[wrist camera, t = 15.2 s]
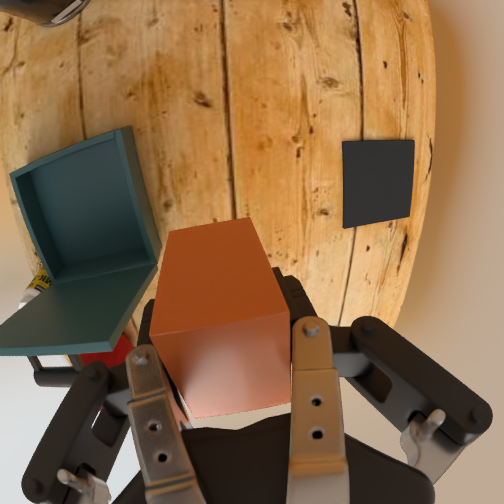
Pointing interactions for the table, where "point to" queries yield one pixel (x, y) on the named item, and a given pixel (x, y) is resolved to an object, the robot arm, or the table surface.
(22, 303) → the supplement bottle
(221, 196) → the table surface
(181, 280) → the block
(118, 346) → the apple
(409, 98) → the table surface
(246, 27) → the table surface
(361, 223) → the mat
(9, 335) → the lunchbox lid
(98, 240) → the box
